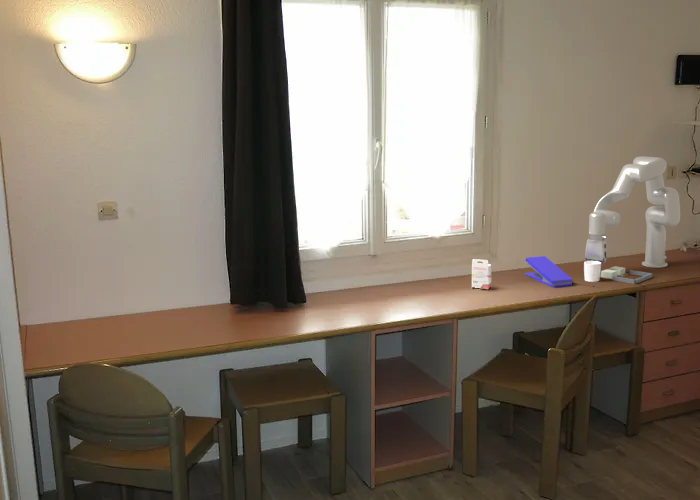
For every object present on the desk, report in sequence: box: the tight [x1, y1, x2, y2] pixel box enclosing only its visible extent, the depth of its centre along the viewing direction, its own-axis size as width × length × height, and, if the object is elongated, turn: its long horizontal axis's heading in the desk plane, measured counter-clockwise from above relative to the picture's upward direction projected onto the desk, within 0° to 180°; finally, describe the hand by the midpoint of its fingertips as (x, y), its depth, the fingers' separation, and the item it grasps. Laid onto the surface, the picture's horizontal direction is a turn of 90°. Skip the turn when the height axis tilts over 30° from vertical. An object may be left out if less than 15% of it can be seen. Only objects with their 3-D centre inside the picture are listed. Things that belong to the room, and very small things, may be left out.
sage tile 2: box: [609, 265, 626, 276], centre depth 363 cm, size 6×6×3 cm
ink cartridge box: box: [471, 258, 492, 290], centre depth 347 cm, size 9×5×15 cm, turn 62°
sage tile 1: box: [601, 268, 617, 280], centre depth 357 cm, size 6×6×3 cm
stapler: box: [523, 255, 573, 288], centre depth 359 cm, size 12×28×10 cm, turn 17°
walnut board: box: [600, 269, 629, 281], centre depth 362 cm, size 16×14×1 cm
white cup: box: [583, 260, 602, 283], centre depth 352 cm, size 8×8×10 cm
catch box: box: [612, 269, 654, 285], centre depth 353 cm, size 18×11×3 cm, turn 132°
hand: (595, 273), depth 363 cm, fingers closed
